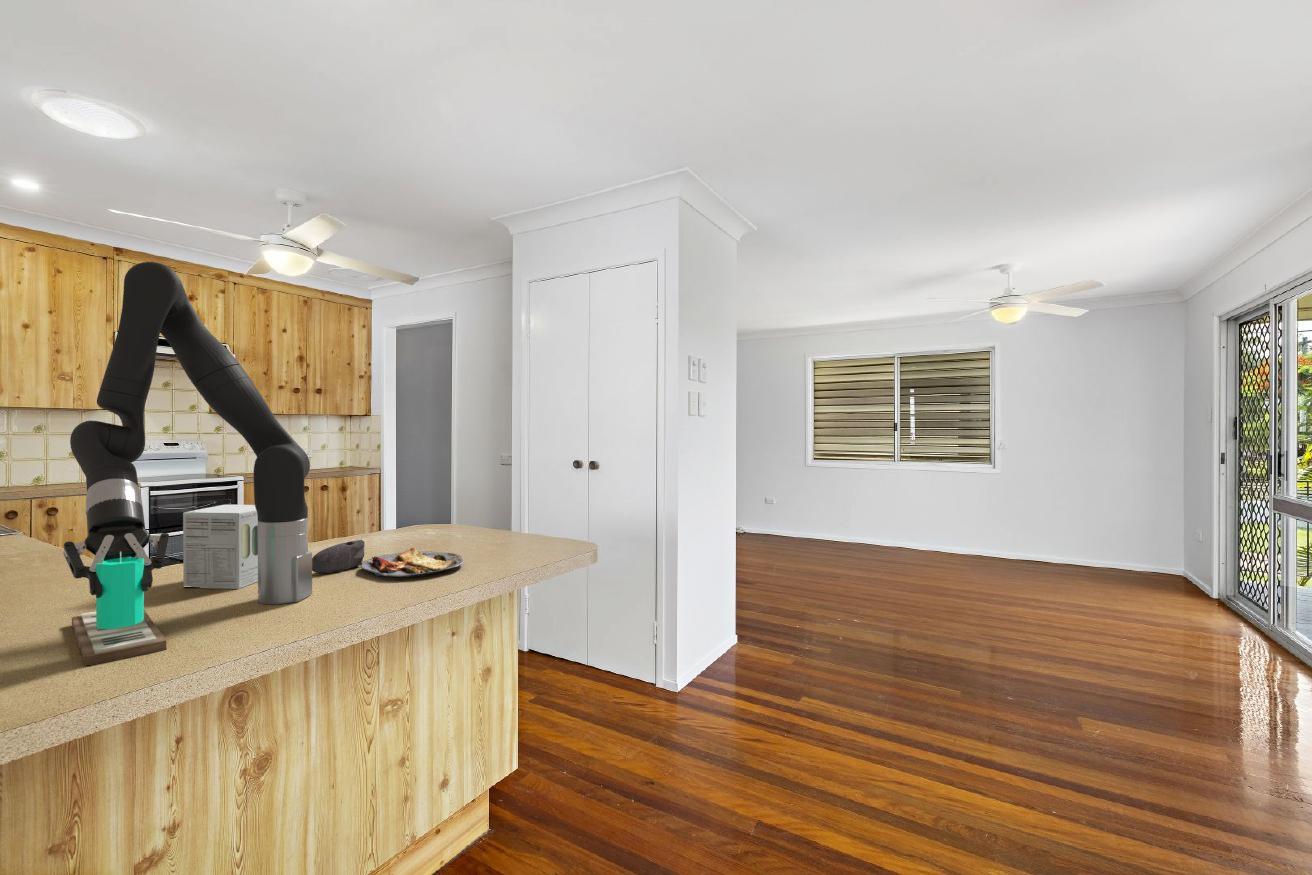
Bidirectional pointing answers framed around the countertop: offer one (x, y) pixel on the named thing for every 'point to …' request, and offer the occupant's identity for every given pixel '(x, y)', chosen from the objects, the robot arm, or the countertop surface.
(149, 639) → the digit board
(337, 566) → the perforated stone tool
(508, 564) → the countertop surface
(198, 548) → the supplement box
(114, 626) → the candle
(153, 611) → the countertop surface
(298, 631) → the countertop surface
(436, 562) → the food plate
